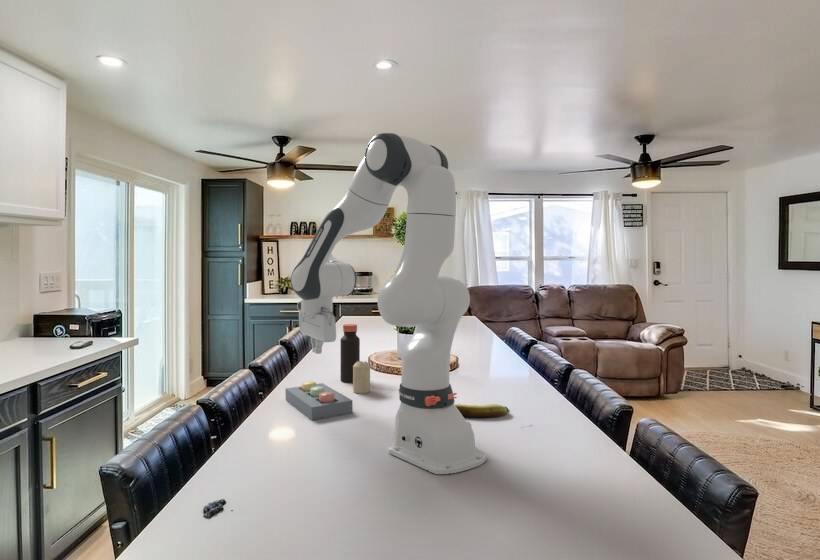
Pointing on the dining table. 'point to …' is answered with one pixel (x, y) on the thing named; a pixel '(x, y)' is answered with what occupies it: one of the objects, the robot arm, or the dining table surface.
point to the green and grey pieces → (482, 410)
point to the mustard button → (308, 385)
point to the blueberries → (213, 508)
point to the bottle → (349, 351)
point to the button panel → (318, 403)
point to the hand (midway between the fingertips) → (316, 352)
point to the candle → (361, 377)
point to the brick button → (326, 397)
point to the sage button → (316, 391)
